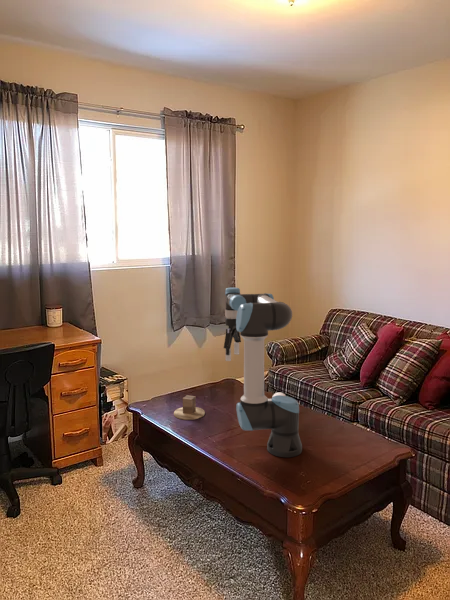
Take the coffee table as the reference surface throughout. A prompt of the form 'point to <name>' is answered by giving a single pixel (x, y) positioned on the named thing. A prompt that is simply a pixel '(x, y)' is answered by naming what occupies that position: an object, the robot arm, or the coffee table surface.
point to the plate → (195, 415)
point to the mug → (277, 394)
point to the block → (189, 404)
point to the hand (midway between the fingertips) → (232, 357)
